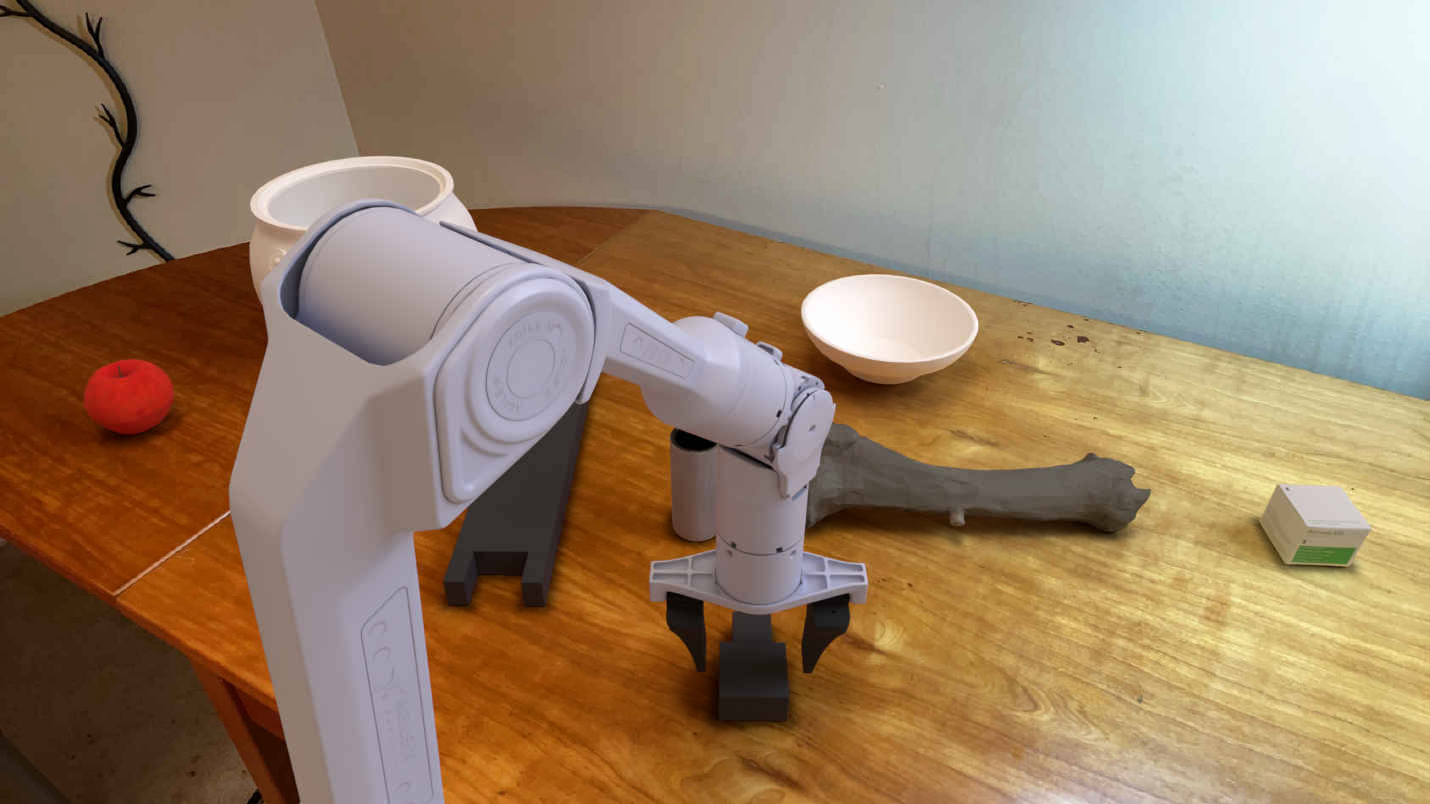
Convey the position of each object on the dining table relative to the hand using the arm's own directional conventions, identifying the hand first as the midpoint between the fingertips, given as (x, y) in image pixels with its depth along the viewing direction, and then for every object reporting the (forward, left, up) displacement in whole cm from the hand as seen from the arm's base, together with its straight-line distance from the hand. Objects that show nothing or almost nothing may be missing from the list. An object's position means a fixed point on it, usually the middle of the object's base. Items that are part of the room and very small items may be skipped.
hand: (754, 661), depth 66 cm
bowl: (+46, +12, -4) cm, 48 cm away
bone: (+27, -5, -4) cm, 28 cm away
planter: (+12, +14, -4) cm, 19 cm away
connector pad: (+1, +1, -4) cm, 4 cm away
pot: (+21, +69, -4) cm, 72 cm away
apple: (-9, +70, -4) cm, 71 cm away
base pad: (+12, +33, -4) cm, 35 cm away
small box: (+41, -32, -4) cm, 53 cm away
